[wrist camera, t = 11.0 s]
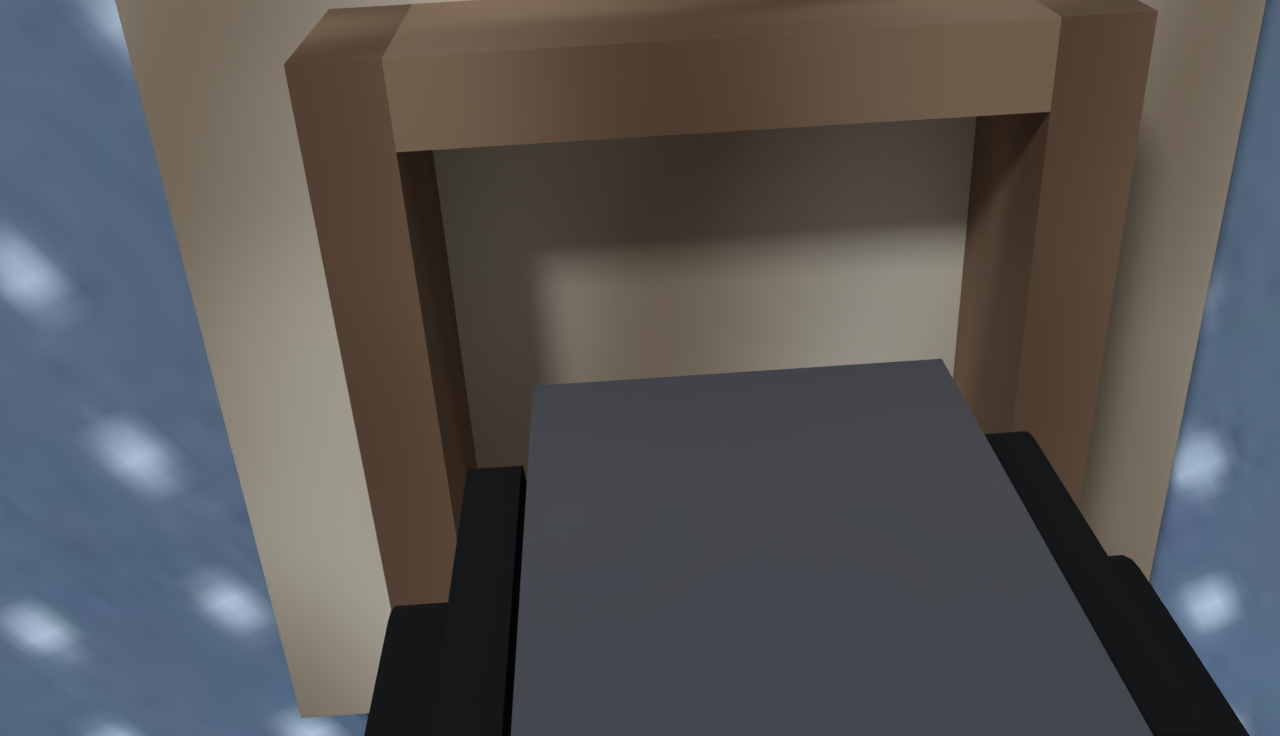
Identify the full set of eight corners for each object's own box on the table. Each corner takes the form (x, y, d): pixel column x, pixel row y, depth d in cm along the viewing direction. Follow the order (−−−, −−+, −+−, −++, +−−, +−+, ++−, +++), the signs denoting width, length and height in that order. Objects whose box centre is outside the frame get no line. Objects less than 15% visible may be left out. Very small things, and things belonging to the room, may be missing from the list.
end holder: (1270, -284, 14) (1468, -279, 11) (1105, 613, 21) (1199, 778, 18) (99, -216, 14) (-43, -191, 11) (314, 666, 21) (266, 842, 18)
